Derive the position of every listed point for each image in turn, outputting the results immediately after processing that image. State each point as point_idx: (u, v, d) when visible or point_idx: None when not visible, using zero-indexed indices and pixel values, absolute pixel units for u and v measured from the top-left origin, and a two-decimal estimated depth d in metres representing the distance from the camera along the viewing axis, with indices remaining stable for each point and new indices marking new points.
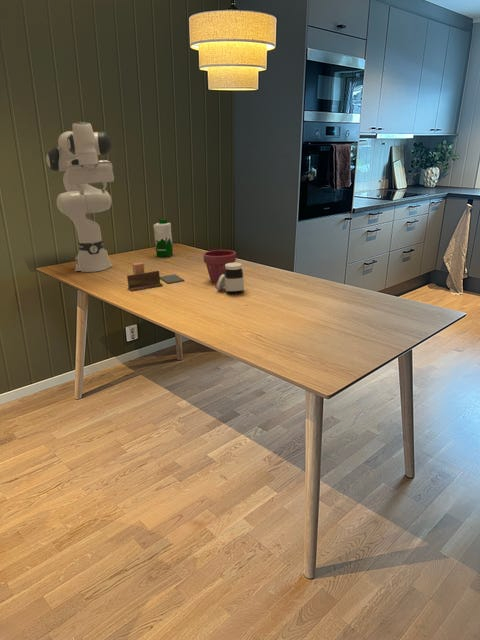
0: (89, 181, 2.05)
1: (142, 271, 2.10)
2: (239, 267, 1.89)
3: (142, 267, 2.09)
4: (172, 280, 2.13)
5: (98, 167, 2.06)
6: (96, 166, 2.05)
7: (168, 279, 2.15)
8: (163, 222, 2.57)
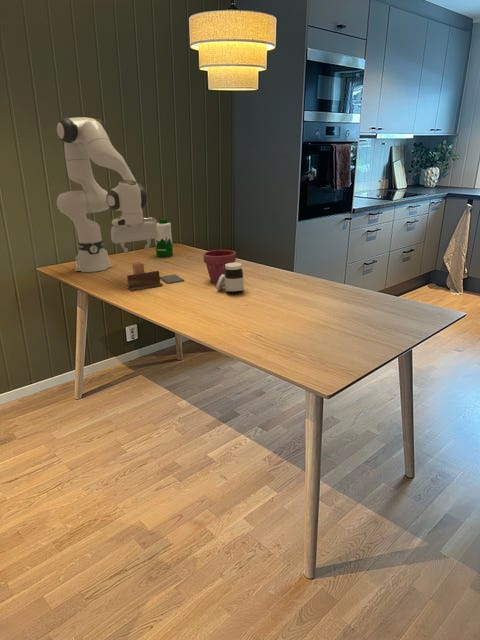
0: (134, 239, 2.04)
1: (142, 271, 2.10)
2: (239, 267, 1.89)
3: (142, 267, 2.09)
4: (172, 280, 2.13)
5: (143, 225, 2.04)
6: (141, 224, 2.04)
7: (168, 279, 2.15)
8: (163, 222, 2.57)
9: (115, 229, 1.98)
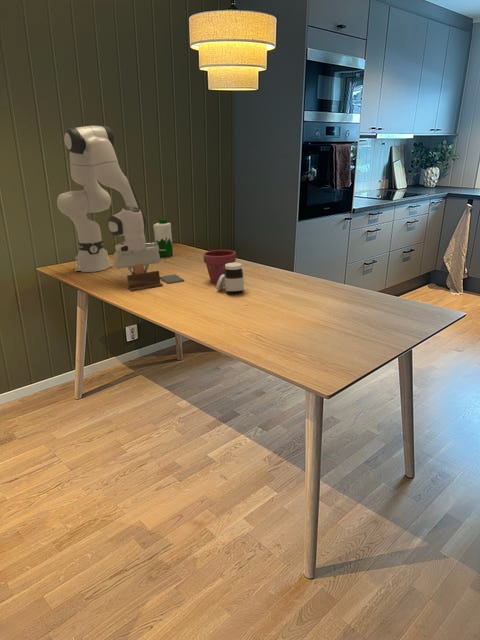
0: (136, 264, 2.08)
1: (142, 271, 2.10)
2: (239, 267, 1.89)
3: (142, 267, 2.09)
4: (172, 280, 2.13)
5: (146, 250, 2.08)
6: (144, 250, 2.08)
7: (168, 279, 2.15)
8: (163, 222, 2.57)
9: (118, 255, 2.02)
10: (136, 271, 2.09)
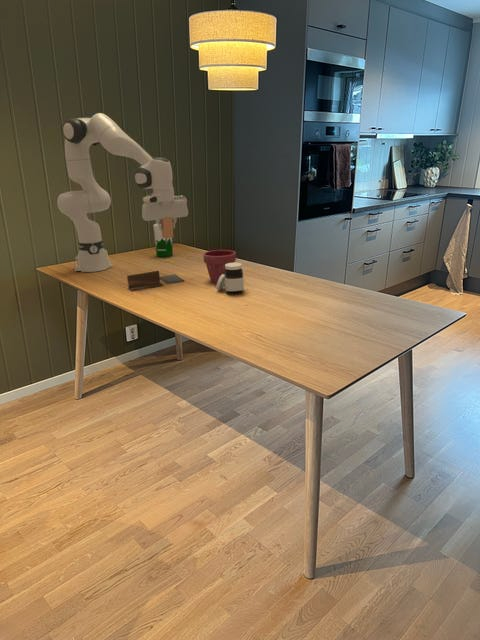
0: None
1: (170, 224, 2.06)
2: (239, 267, 1.89)
3: (170, 220, 2.06)
4: (172, 280, 2.13)
5: (174, 203, 2.05)
6: (172, 202, 2.04)
7: (168, 279, 2.15)
8: None
9: (147, 206, 1.99)
10: (164, 224, 2.05)
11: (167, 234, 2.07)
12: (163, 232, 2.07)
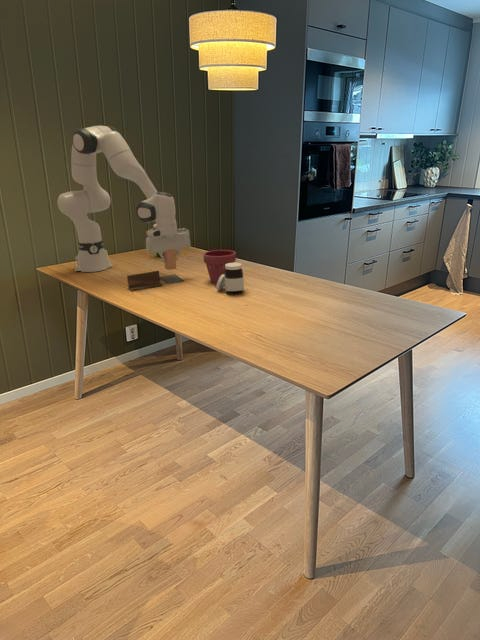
0: (168, 249, 2.09)
1: (173, 256, 2.11)
2: (239, 267, 1.89)
3: (173, 252, 2.11)
4: (172, 280, 2.13)
5: (177, 236, 2.10)
6: (175, 235, 2.09)
7: (168, 279, 2.15)
8: None
9: (150, 240, 2.04)
10: (167, 256, 2.10)
11: (170, 266, 2.12)
12: (166, 264, 2.12)
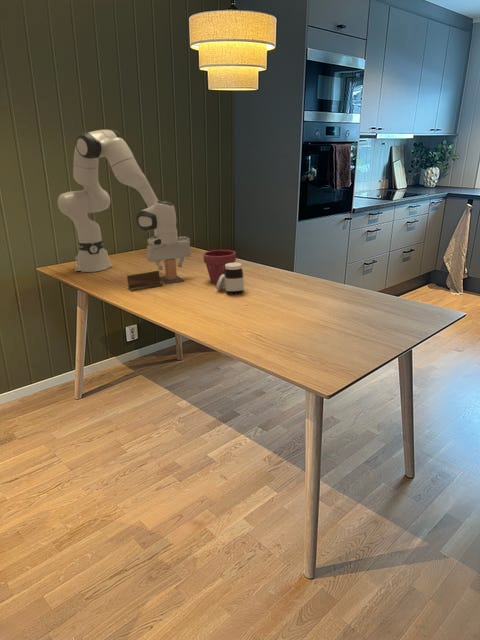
0: (168, 258, 2.11)
1: (174, 266, 2.13)
2: (239, 267, 1.89)
3: (174, 262, 2.12)
4: (172, 280, 2.13)
5: (177, 244, 2.11)
6: (176, 243, 2.10)
7: None
8: None
9: (151, 248, 2.05)
10: (168, 266, 2.12)
11: (171, 276, 2.14)
12: (167, 274, 2.14)
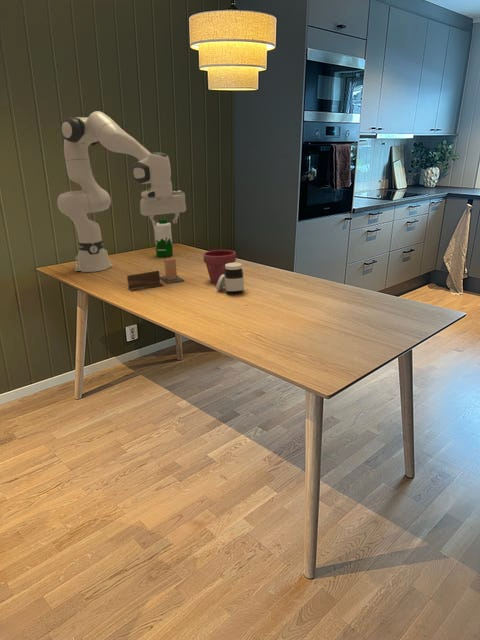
0: (163, 212, 2.04)
1: (174, 266, 2.13)
2: (239, 267, 1.89)
3: (174, 262, 2.12)
4: (172, 280, 2.13)
5: (172, 198, 2.04)
6: (170, 197, 2.04)
7: None
8: (163, 222, 2.57)
9: (145, 201, 1.98)
10: (168, 266, 2.12)
11: (171, 276, 2.14)
12: (167, 274, 2.14)
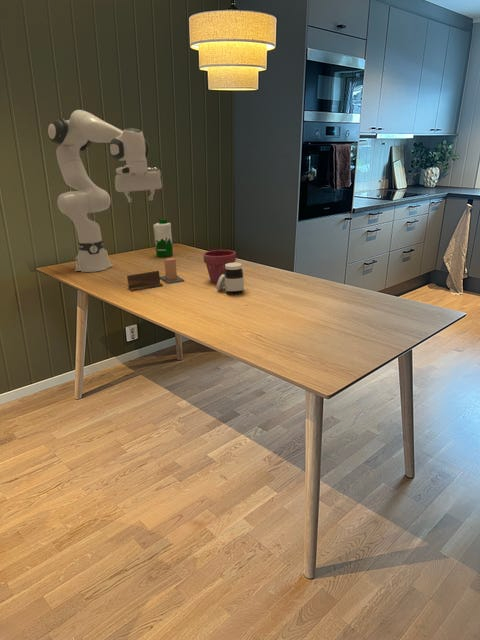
0: (138, 189, 2.04)
1: (174, 266, 2.13)
2: (239, 267, 1.89)
3: (174, 262, 2.12)
4: (172, 280, 2.13)
5: (147, 175, 2.05)
6: (145, 174, 2.04)
7: None
8: (163, 222, 2.57)
9: (119, 177, 1.99)
10: (168, 266, 2.12)
11: (171, 276, 2.14)
12: (167, 274, 2.14)
